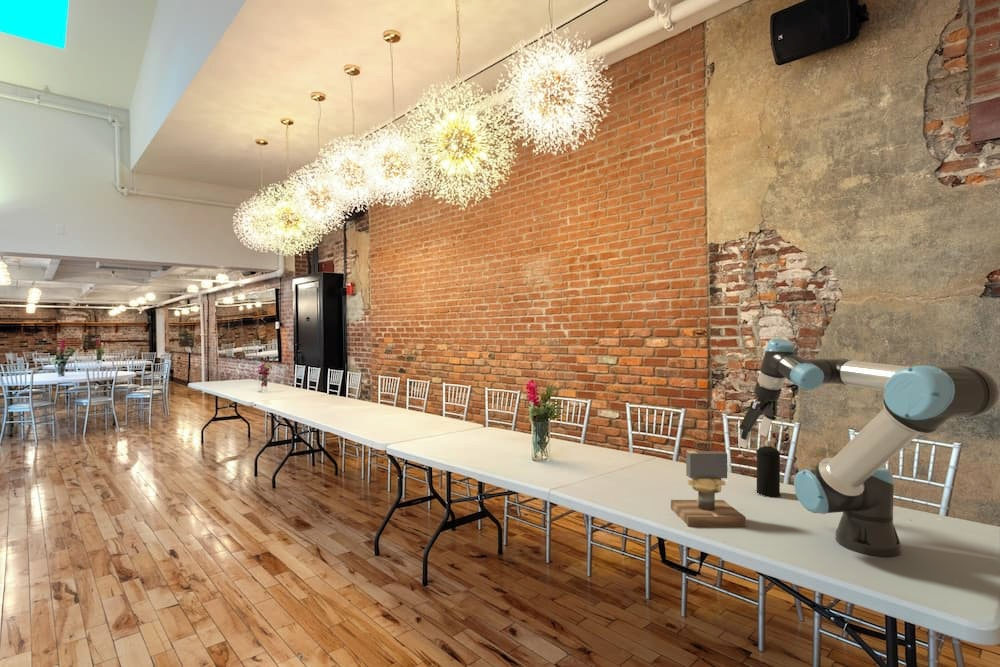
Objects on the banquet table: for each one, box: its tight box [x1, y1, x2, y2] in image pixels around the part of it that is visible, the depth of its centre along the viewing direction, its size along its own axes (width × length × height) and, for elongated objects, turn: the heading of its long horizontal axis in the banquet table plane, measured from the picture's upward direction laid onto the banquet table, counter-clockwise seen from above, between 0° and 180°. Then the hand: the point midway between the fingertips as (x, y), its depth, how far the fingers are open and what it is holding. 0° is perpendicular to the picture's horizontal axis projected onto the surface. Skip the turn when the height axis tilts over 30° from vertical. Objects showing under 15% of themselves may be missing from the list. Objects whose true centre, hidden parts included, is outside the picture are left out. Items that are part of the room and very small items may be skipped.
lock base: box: [670, 491, 747, 527], centre depth 167 cm, size 16×18×9 cm
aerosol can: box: [755, 439, 781, 498], centre depth 191 cm, size 8×8×20 cm
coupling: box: [685, 450, 728, 494], centre depth 167 cm, size 9×12×12 cm
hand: (752, 440), depth 173 cm, fingers open, 13 cm apart
